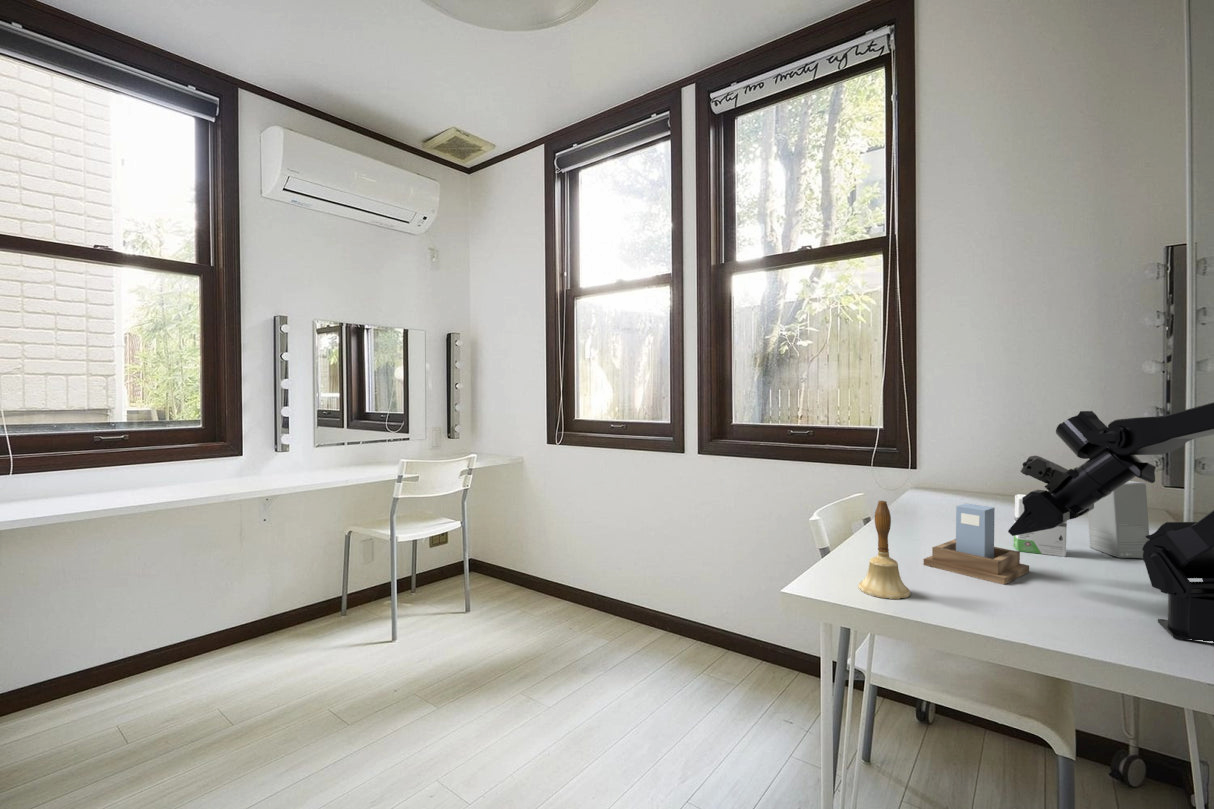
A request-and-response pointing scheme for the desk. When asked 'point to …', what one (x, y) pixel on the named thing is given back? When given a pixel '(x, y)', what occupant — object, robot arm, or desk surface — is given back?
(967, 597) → the desk surface
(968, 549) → the box
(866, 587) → the hand bell
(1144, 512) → the skincare box
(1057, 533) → the ink box
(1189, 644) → the desk surface
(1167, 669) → the desk surface
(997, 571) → the tray
